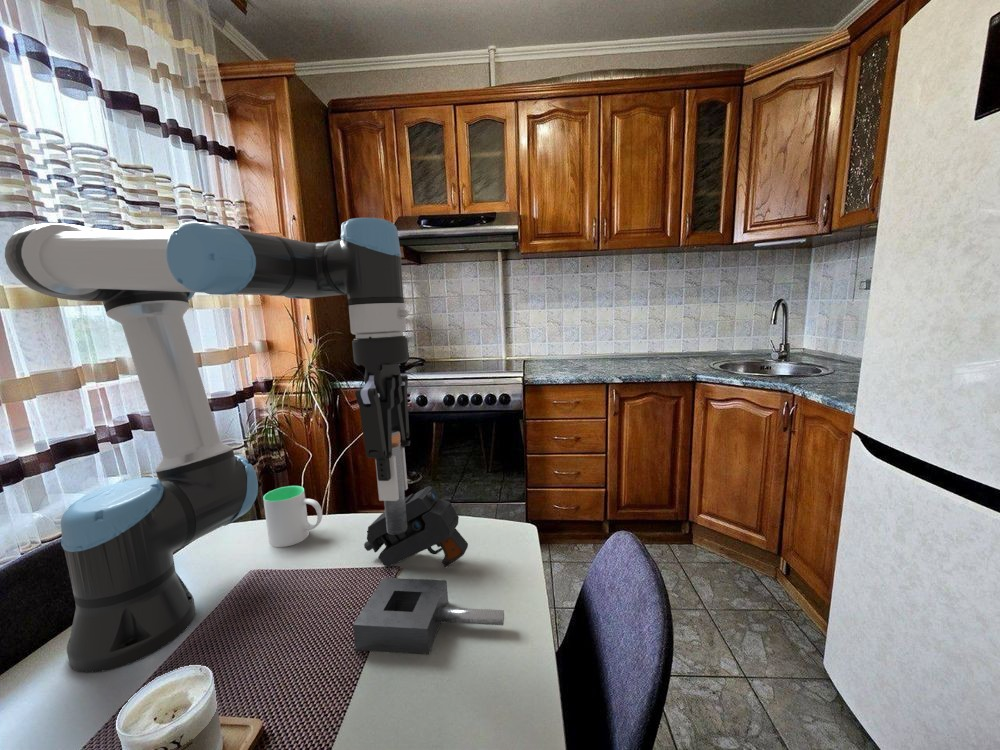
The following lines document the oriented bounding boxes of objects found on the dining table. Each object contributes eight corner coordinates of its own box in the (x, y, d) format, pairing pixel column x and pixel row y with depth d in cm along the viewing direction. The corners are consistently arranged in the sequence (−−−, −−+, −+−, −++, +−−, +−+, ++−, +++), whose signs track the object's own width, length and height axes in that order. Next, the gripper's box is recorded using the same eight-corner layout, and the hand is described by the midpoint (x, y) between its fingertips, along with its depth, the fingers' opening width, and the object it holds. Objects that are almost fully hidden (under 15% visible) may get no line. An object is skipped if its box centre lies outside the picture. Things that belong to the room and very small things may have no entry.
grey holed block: (355, 649, 61) (352, 624, 61) (385, 599, 72) (383, 577, 71) (499, 659, 58) (497, 632, 58) (507, 605, 69) (506, 582, 69)
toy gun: (468, 560, 77) (425, 491, 77) (388, 599, 82) (347, 534, 82) (477, 542, 83) (436, 478, 83) (402, 580, 88) (363, 519, 88)
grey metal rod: (382, 534, 62) (373, 435, 60) (391, 524, 65) (382, 429, 63) (403, 535, 62) (395, 435, 60) (411, 524, 65) (403, 429, 63)
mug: (332, 527, 98) (327, 484, 97) (316, 546, 90) (311, 499, 89) (281, 529, 99) (276, 486, 97) (261, 547, 91) (255, 501, 89)
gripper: (382, 337, 51) (398, 520, 54) (423, 331, 67) (433, 474, 70) (324, 340, 52) (343, 519, 55) (378, 333, 68) (390, 474, 71)
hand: (393, 494), depth 63 cm, fingers closed on grey metal rod, 3 cm apart
